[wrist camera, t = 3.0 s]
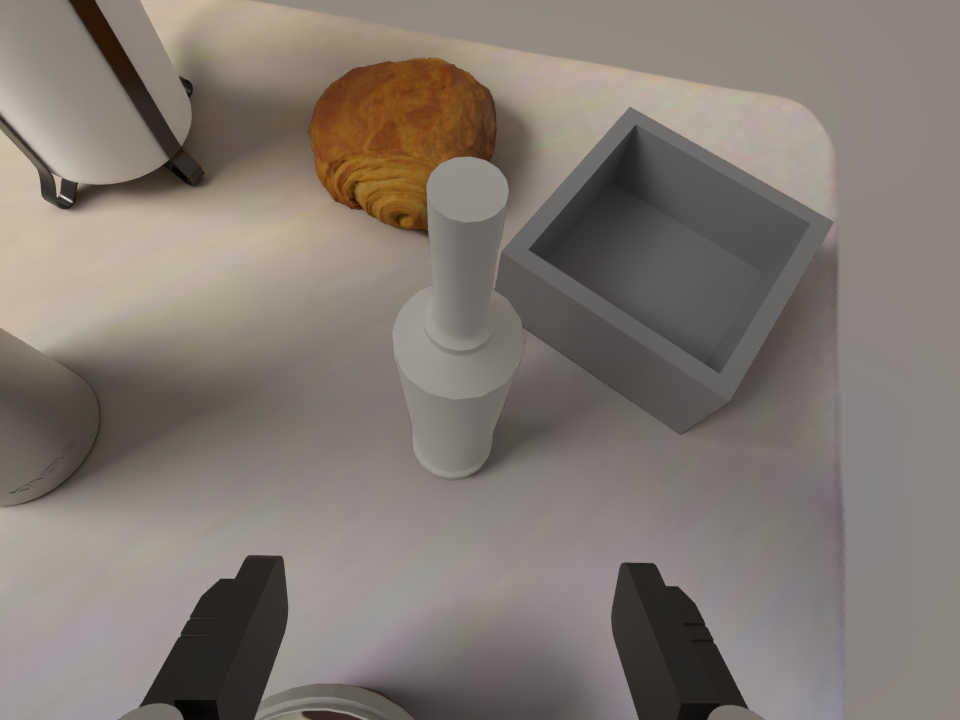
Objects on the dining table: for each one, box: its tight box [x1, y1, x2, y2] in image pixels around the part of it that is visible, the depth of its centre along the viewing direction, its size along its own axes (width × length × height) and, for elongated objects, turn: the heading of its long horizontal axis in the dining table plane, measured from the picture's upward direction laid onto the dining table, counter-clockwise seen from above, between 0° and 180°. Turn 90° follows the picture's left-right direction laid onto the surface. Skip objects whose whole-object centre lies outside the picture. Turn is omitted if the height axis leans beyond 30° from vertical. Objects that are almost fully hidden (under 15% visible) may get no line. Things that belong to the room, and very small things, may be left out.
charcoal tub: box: [495, 107, 834, 435], centre depth 39 cm, size 16×16×7 cm
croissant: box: [308, 58, 496, 230], centre depth 43 cm, size 14×16×8 cm
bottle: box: [392, 157, 525, 480], centre depth 25 cm, size 5×5×25 cm
